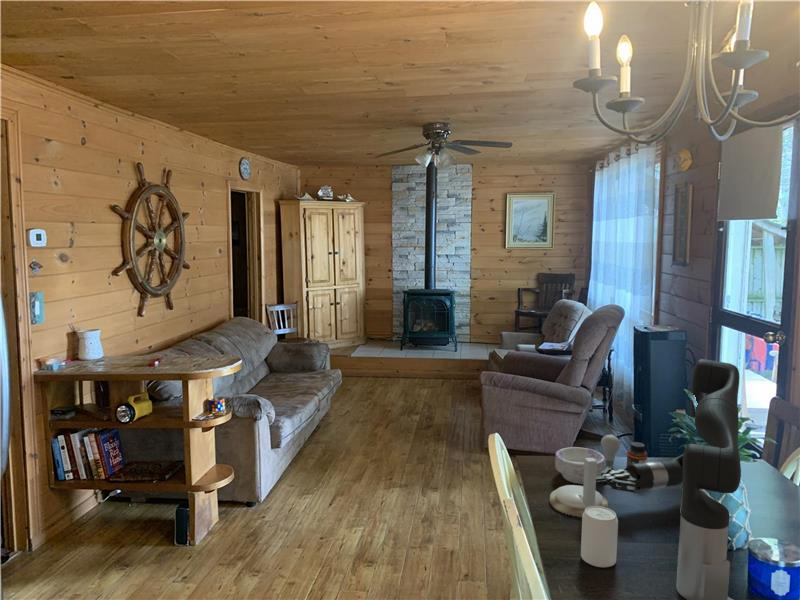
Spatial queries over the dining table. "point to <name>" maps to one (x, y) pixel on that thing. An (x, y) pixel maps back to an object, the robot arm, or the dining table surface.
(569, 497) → the dial
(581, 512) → the dial base
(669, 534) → the dining table surface
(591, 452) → the paper bowls
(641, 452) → the supplement bottle
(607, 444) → the lightbulb
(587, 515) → the beverage can
